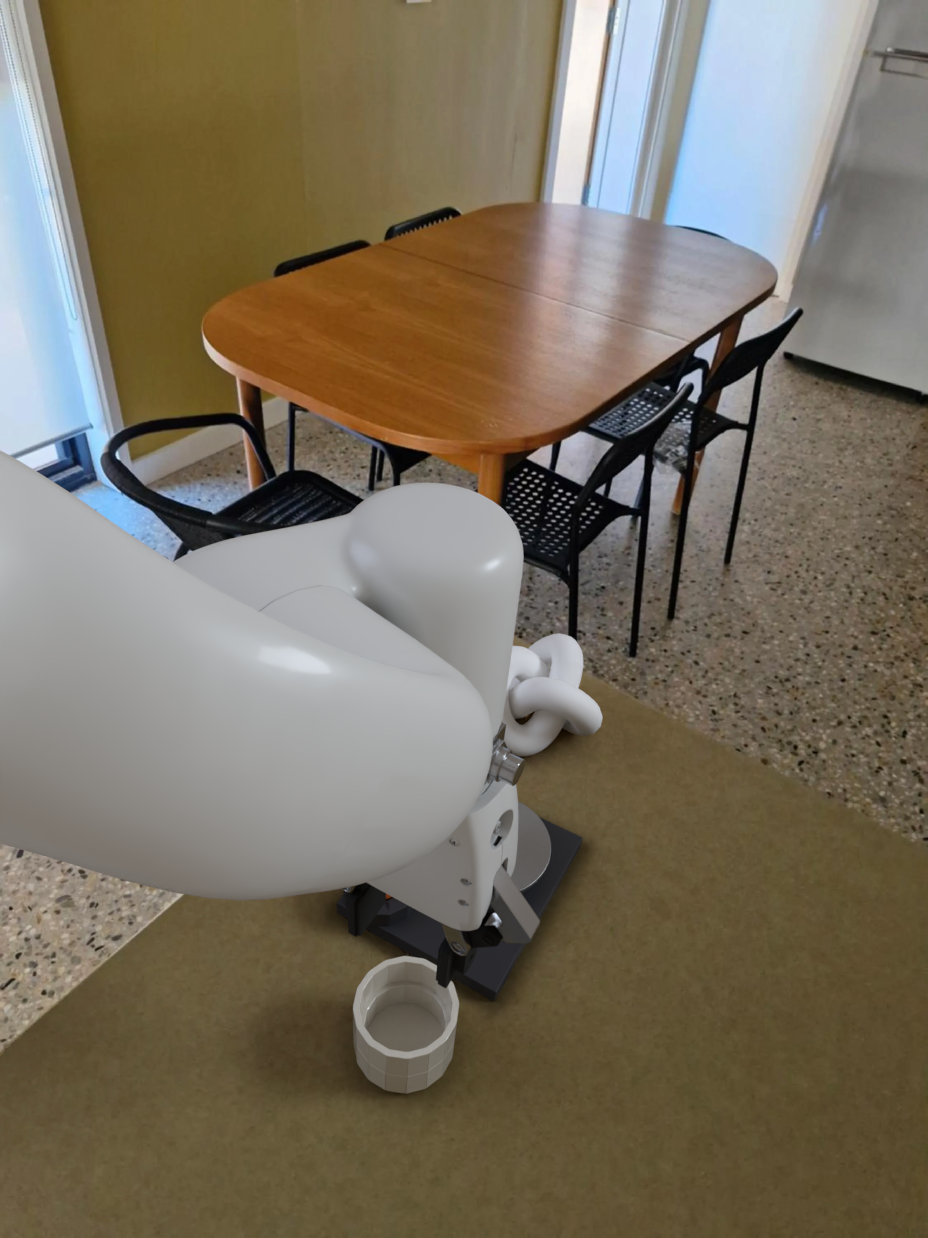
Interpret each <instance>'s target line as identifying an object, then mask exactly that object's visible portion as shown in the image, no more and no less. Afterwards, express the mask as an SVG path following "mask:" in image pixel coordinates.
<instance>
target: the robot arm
mask: <svg viewBox="0 0 928 1238" xmlns="http://www.w3.org/2000/svg"><path fill="white" fill-rule="evenodd" d="M523 571H524V545H523V541H522V538H521V534H520V531H519V529H518V527H517V525H516V524H515V522H514V520H513V519H512V517H511V516H510V515H509V514H508V513H507V511H505V509H504V508H502V506H500V505H499V504H498V503H496V502H495V501H493V500H492V499H490V498H488V497H486V496H485V495H483V494H481V493H479V492H477V491H474V490H472V489H469V488H466V487H462V486H458V485H456V484H455V485H454V484H449V483H443V482H429V481H427V482H411V483H404V484H399V485H395V486H391V487H388V488H385V489H383V490H381V491H378V492H376V493H374V494H371V495H370V496H368V497H366V498H365V499H364V500H362V501H360V503H359V504H357V505H356V506H355V507H354V508H353V509H352V510H351V511H350V512H347V513H346V514H343V515H338V516H335V517H331V518H326V519H322V520H317V521H312V522H308V523H303V524H298V525H292V526H288V527H283V528H277V529H272V530H271V529H270V530H267V531H262V532H261V531H260V532H256V533H251V534H246V535H241V536H237V537H233V538H232V537H231V538H228V539H224V540H220V541H217V542H214V543H211V544H208V545H205V546H202V547H200V548H198V549H195V550H193V551H190V552H188V553H186V554H185V555H182V556H181V557H179V558H177V559H175V560H174V561H171V560H170V559H168V558H167V557H165V556H163V555H162V554H160V553H159V552H157V551H156V550H154V549H153V548H152V547H150V546H148V545H147V544H145V543H144V542H142V541H141V540H140V539H138V538H136V537H135V536H133V535H132V534H131V533H129V532H127V531H126V530H125V529H123V528H122V527H120V526H119V525H117V524H116V523H114V522H113V521H112V520H110V519H109V518H107V517H106V516H105V515H103V514H101V512H99V511H97V510H96V509H95V508H93V507H92V506H90V505H88V504H87V503H86V502H84V501H83V500H82V499H80V498H78V497H77V496H76V495H75V494H73V493H71V492H70V491H68V490H67V489H66V488H64V487H62V486H61V485H59V484H57V483H56V482H55V481H53V480H51V479H49V478H48V477H46V476H45V475H44V474H42V473H40V472H38V471H37V470H35V469H34V468H32V467H30V466H28V465H27V464H25V463H23V462H22V461H21V460H18V459H16V457H14V456H12V455H10V454H9V453H6V452H4V451H2V450H0V845H3V846H7V847H11V848H14V849H17V850H21V851H25V852H28V853H31V854H35V855H39V856H42V857H46V858H50V859H53V860H57V861H60V862H63V863H66V864H69V865H73V866H76V867H79V868H82V869H84V870H85V869H86V870H88V871H92V872H95V873H99V874H102V875H105V876H109V877H112V878H115V879H117V880H118V879H119V880H122V881H125V882H129V883H133V884H136V885H141V886H145V887H149V888H152V889H158V890H161V891H165V892H169V893H176V894H181V895H187V896H193V897H199V898H206V899H214V900H215V899H216V900H229V901H266V900H272V899H274V900H275V899H280V898H287V897H295V896H302V895H303V896H304V895H309V894H310V895H311V894H315V893H316V894H317V893H324V892H331V891H336V890H341V891H342V892H344V891H345V892H346V909H348V919H347V933H348V934H350V935H351V936H353V937H355V938H357V937H361V936H362V935H363V934H364V933H365V931H367V929H366V928H367V927H368V926H369V924H370V923H371V921H372V920H373V919H374V917H375V916H376V915H377V913H378V912H379V910H380V909H381V908H382V906H383V905H384V903H385V901H386V894H388V895H390V896H392V897H393V898H395V899H397V900H399V901H401V902H403V903H405V904H406V905H408V906H410V907H412V908H414V909H416V910H418V911H419V912H421V913H423V914H425V915H427V916H429V917H431V918H433V919H435V920H437V921H438V922H440V923H441V924H442V927H443V930H444V933H445V936H446V937H445V938H444V940H443V942H442V943H441V945H440V947H439V950H438V960H437V971H436V981H438V985H440V986H442V987H444V988H447V986H448V985H449V983H450V981H452V980H453V977H454V975H455V973H456V972H457V971H458V972H460V973H462V974H464V975H465V974H466V972H467V971H468V969H469V968H470V966H471V964H472V962H473V960H474V958H475V956H476V953H477V948H480V947H496V946H498V945H499V943H500V942H501V941H505V942H506V943H507V944H526V945H527V944H530V943H531V942H532V941H533V939H534V937H535V935H536V933H537V931H538V930H539V928H540V926H541V919H540V920H539V918H538V917H537V915H536V914H535V912H534V911H533V909H532V908H531V906H530V905H529V904H528V902H527V901H526V899H525V898H524V896H523V895H522V893H521V892H520V890H519V889H518V888H517V886H516V885H515V883H514V882H513V880H512V879H511V876H512V874H513V871H514V868H515V863H516V855H517V843H518V801H519V799H518V797H519V796H518V789H517V787H518V786H517V783H518V782H519V780H520V778H521V776H522V775H523V772H524V769H525V765H526V759H524V758H522V757H518V756H515V755H513V754H512V751H511V750H509V749H507V746H506V744H505V741H504V736H505V729H506V724H505V723H503V722H502V720H503V712H504V705H505V698H506V691H507V683H508V676H509V669H510V661H511V654H512V647H513V646H514V638H515V631H516V624H517V617H518V610H519V604H520V603H519V602H520V595H521V588H522V580H523V573H524V572H523ZM489 905H490V906H491V907H492V908H488V907H489Z"/></svg>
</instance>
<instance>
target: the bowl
mask: <svg viewBox="0 0 928 1238" xmlns="http://www.w3.org/2000/svg"><path fill="white" fill-rule="evenodd" d="M436 971H437V965H435V964H433V963H431V962H429V961H428V960H426V959H424V958H417V957H414V956H409V955H402V956H397V957H394V958H393V957H392V958H388V959H386V960H383V961H381V962H380V963H379V964H377V965H376V966H374V967H372V968H371V969H370V970H368V971H367V972H366V974H365V975H364V977H363V979H362V980H361V981H360V983H359V984H358V986H357V988H356V990H355V995H354V999H353V1004H352V1034H353V1036H352V1037H353V1038H352V1039H353V1041H352V1042H353V1049H354V1053H355V1060H356V1063H357V1065H358V1067H359V1069H360V1070H361V1071H362V1073H363V1075H364V1076H365V1077H366V1079H367V1080H369V1082H371V1083H373V1084H374V1085H375V1086H378V1087H379V1088H380V1089H382V1090H384V1091H387V1092H391V1093H398V1094H399V1093H400V1094H406V1095H407V1094H411V1093H414V1092H415V1093H416V1092H418V1091H422V1090H426V1089H427V1088H428V1087H430V1086H432V1085H433V1084H434V1083H436V1081H438V1080H439V1079H441V1078H442V1076H444V1073H445V1072H446V1070H447V1068H448V1067H449V1065H450V1063H451V1061H452V1059H453V1056H454V1050H455V1049H454V1048H455V1040H456V1032H457V1024H458V1016H459V1009H460V1001H459V996H458V993H457V990H456V986H455V984H454V982H453V981H452V980H451V981H450V983H449V985H448V986H447V988H444V987H442V986H440V985H438V981H436Z"/></svg>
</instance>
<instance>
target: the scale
mask: <svg viewBox="0 0 928 1238" xmlns="http://www.w3.org/2000/svg"><path fill="white" fill-rule="evenodd" d="M538 817H539V818H540V819H541V820H542V822H543V823H544V825H545V827H546V829H547V831H548V834H549V837H550V842H551V855H550V860H549V864H548V867H547V869H546V871H545V873H544V874H543V876H542V877H541V878H540V879H539V880H538V881H537V883H535V884H534V885H533V886H532V887H530V888H529V889H527V890H525V891H524V892H522V895H523V896H524V898H525V899H526V901H527V902H528V904H529V905H530V906H531V908H532V909H533V911H534V912H535V914H536V915H537V917H538V918H539V920H540V921H541V919H542V917H543V916H544V914H545V912H546V910H547V909H548V906H549V905H550V903H551V901H552V899H553V898H554V896H555V894H556V892H557V891H558V889H559V887H560V885H561V883H562V882H563V879H564V878H565V876H566V874H567V872H568V871H569V869H570V868H571V866H572V864H573V862H574V860H575V858H576V856H577V855H578V853H579V851H580V849H581V847H582V843H583V840H584V839H583V837H582V836H580V835H579V834H576V833H574V832H572V831H570V830H568V829H565V828H563V827H561V826H560V825H558V824H556V823H553V822H551V821H549V820H546V819H545V818H543V817H541V816H538ZM488 908H492V907H491V906H490V905H489V907H488ZM336 913H337V914H338V915H340V916H342V917H344V918H345V919H347V920H348V909H346V892H345V891H343V894H342V895H341V896H340V898H339V899H338V900H337V901H336ZM366 931H368V932H370V933H372V934H374V935H375V936H377V937H379V938H381V939H382V940H384V941H386V942H388V943H390V944H391V945H393V946H395V947H396V948H398V949H400V950H402V951H403V952H405V953H407V954H409V955H411V957H417V958H424V959H426V960H428V961H429V962H431V963H433V964H435V965H437V960H438V950H439V947H440V945H441V943H442V942H443V940H444V938H445V937H446V936H445V933H444V930H443V927H442V924H441V923H440V922H438V921H437V920H435V919H433V918H431V917H429V916H427V915H425V914H423V913H421V912H419V911H418V910H416V909H414V908H412V907H410V906H408V905H406V904H405V903H403V902H401V901H399V900H397V899H395V898H393V897H391V898H388V899H386V901H385V903H384V905H383V906H382V908H381V909H380V910H379V912H378V913H377V915H376V916H375V917H374V919H373V920H372V921H371V923H370V924H369V926H368V927H367V928H366ZM526 946H527V944H507V943H506V942H505V941H501V942H500V943H499V945H498V946H496V947H480V948H477V953H476V956H475V958H474V960H473V962H472V964H471V966H470V968H469V969H468V971H467V972H466V974H465V975H464V974H462V973H460V972H458V971H457V972H456V973H455V975H454V977H453V978H452V980H454V981H456V982H458V983H460V984H462V985H464V986H466V987H467V988H469V989H470V990H472V991H474V992H475V993H477V994H479V995H481V996H483V997H484V998H487V999H488V1000H489V1001H492V1002H496V1000H497V998H498V996H499V995H500V993H501V991H502V989H503V987H504V986H505V984H506V982H507V980H508V979H509V977H510V975H511V973H512V971H513V969H514V967H515V966H516V963H517V962H518V960H519V958H520V957H521V955H522V953H523V951H524V950H525V948H526Z"/></svg>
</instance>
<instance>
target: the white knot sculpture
mask: <svg viewBox="0 0 928 1238" xmlns="http://www.w3.org/2000/svg"><path fill="white" fill-rule="evenodd" d="M583 670H584V655H583V650H582V648H581V646H580V644H579V643H578V642H577V640H576V639H575V638H574V637H572V636H571V635H567V634H564V633H558V632H557V633H553V634H549V635H547V636H544V637H541V638H540V639H538V640H536V641H535V642H534V643H533V644H531V645H530V646H529V647H528V648H527V647H524V646H520V645H513V647H512V654H511V661H510V669H509V676H508V683H507V691H506V698H505V705H504V712H503V720H502V722H503V723H505V724H506V729H505V736H504V741H505V744H506V746H507V749H509V750H511V751H512V754H513V755H515V756H518V757H520V758H522V757H523V758H524V757H530V756H533V755H536V754H539V753H540V752H542V751H543V750H545V749H546V748H547V747H549V746H550V745H552V743H553V742H554V740H555V739H556V738H557V737H558V735H559V733H560V732H561V730H562V729H563V730H565V731H567V732H569V733H570V734H573V735H578V736H581V737H587V736H591V735H594V734H596V732H597V731H598V730H599V729H600V728H601V727H602V723H603V713H602V711H601V707H600V706H599V704H598V703H597V702H596V701H595V700H594V699H593V698H592V697H591V696H590V695H589V694H587V693H586V692H585V691H583V690H582V689H581V688H580V684H581V681H582V677H583ZM532 713H533V714H532ZM531 714H532V715H531ZM528 715H531V717H530V718H529V719H528V720H527V722H524V724H521V723H519V722H517V721H516V720H519V719H523V718H525V717H527V716H528Z"/></svg>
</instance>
